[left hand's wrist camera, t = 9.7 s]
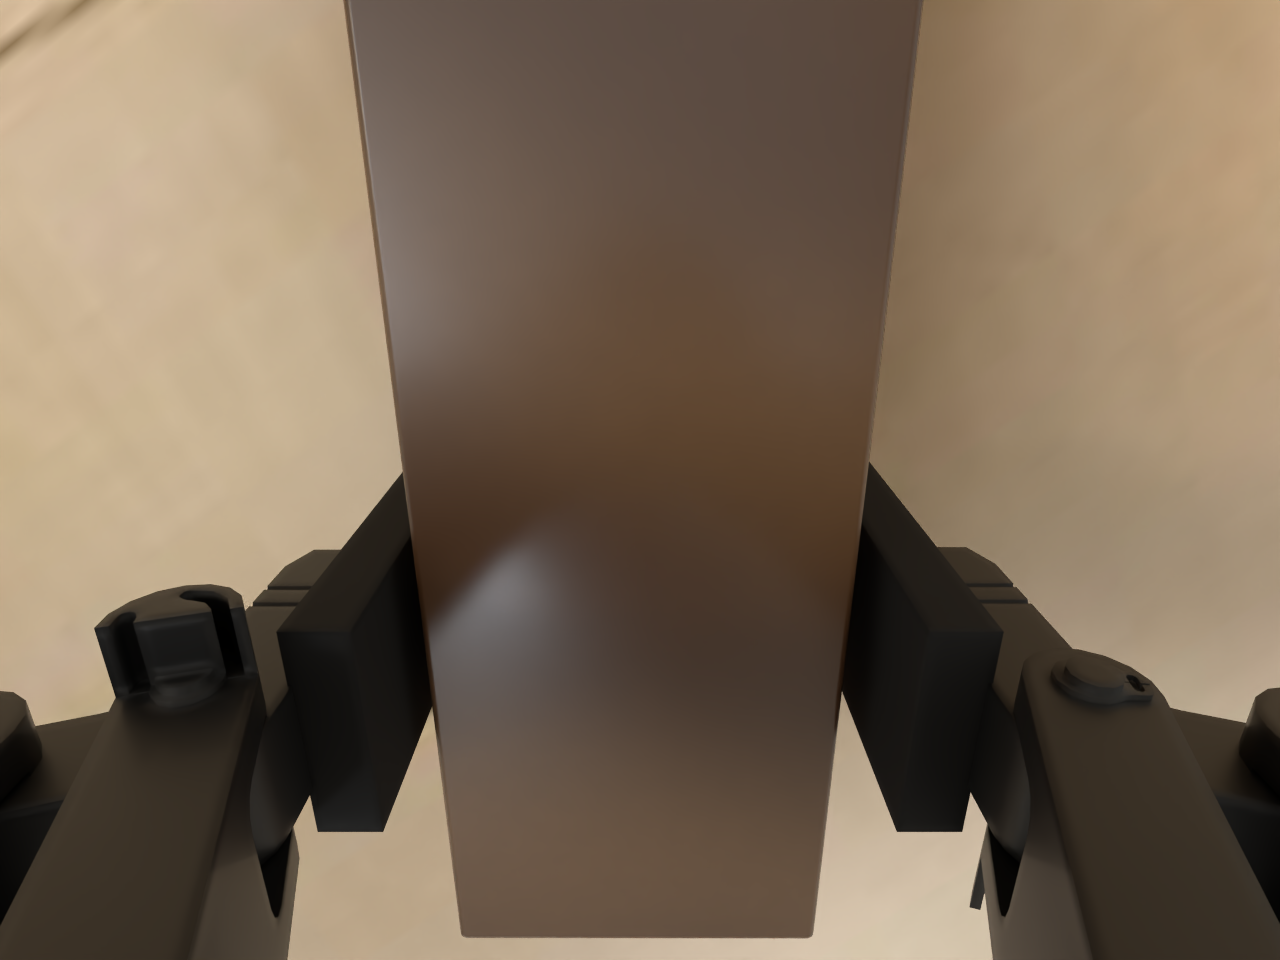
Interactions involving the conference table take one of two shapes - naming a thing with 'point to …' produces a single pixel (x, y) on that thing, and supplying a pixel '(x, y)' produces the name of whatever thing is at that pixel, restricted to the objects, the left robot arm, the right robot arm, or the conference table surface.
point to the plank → (635, 430)
